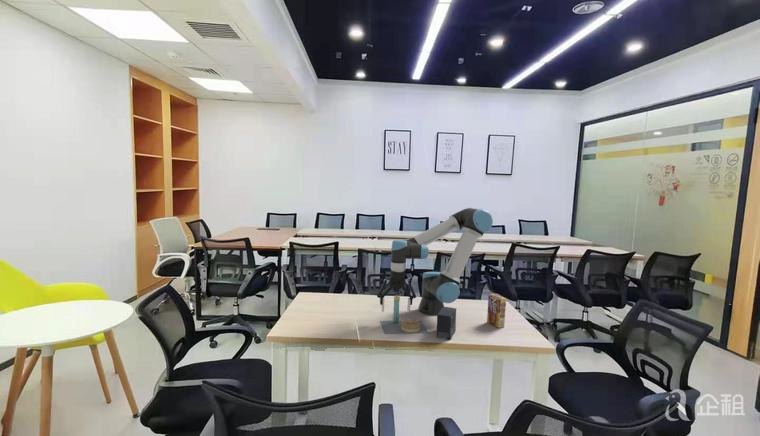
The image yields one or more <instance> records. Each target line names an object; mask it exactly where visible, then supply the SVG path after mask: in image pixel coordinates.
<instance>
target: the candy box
mask: <svg viewBox="0 0 760 436" xmlns="http://www.w3.org/2000/svg"><path fill="white" fill-rule="evenodd" d="M506 307H507V298H506V297H504V296H500V295H498V294H495V293H491V294H488V303H487V315H486V317H487V318H486V323H488V324H490V325H492V326H494V327H496V328H497V329H498V328H499V329H500V328H504V327H505V320H506Z"/></svg>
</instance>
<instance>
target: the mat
mask: <svg viewBox="0 0 760 436" xmlns="http://www.w3.org/2000/svg"><path fill="white" fill-rule="evenodd" d="M402 321H403V320H399V323H398V324H394V323H393V320H380V321H379V322H380V326H381V329H382V330H383V331H382V332H383V333H384V335H404V334H405V335H411V334H413V335H414V334H430V331H429V330H428V329H427V327H426V326H425V325H424V323H423V321H422V320H417V321H419V322H420V330H419V331H418V332H405V331H403V330H402V329H401V322H402Z"/></svg>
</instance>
